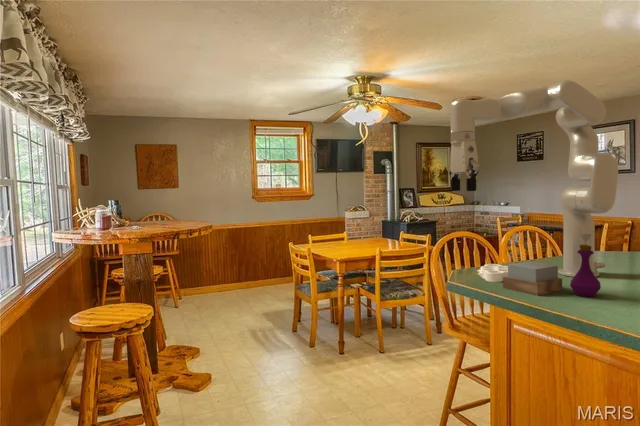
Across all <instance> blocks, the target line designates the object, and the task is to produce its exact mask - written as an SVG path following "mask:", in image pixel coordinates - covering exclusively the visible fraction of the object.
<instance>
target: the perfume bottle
mask: <svg viewBox="0 0 640 426" xmlns="http://www.w3.org/2000/svg"><path fill="white" fill-rule="evenodd" d="M580 235H581V238H582V239H583V240H584V241H585V245H580V250H578V251H577V253H579V254H580V255H581V258H582V262H581V267H580V269H579V271H578V272H577V274H576V275H575V276H574V277H572V279H571V280H570V284H569V286H570V288H571V290H572V291H573V293H575V295H576V296H577V297H586V298H594V297H595V296H596V295H597V293H599V291H600V290H601V289H602V287H601V282H600V280H599V279H598V278H597V277H595V275H594V274H593V272H592V271H591V268H590V264H589V258H590V256H591V254H594V255H595V251H594V252H593V251H591V246H589V245H586V241H587V240H588V239H589V238H590V237H591V234H580Z"/></svg>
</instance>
